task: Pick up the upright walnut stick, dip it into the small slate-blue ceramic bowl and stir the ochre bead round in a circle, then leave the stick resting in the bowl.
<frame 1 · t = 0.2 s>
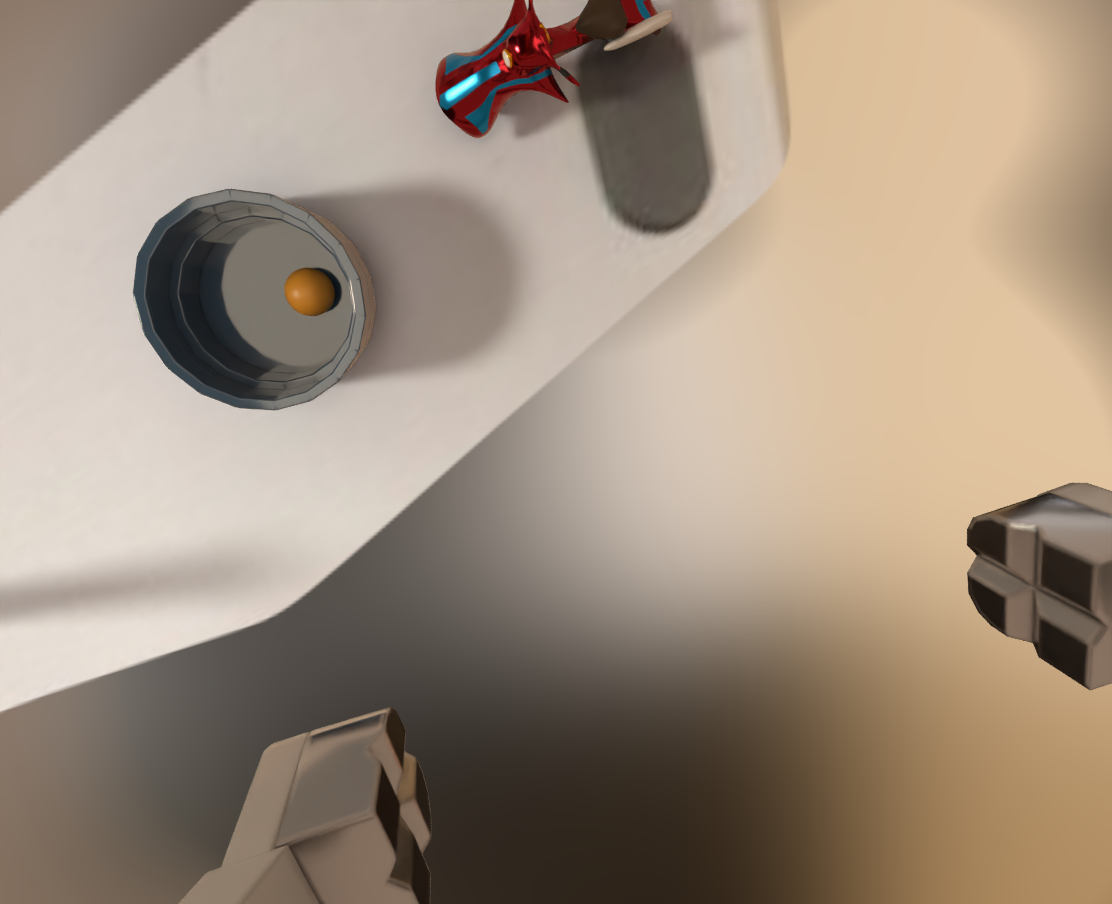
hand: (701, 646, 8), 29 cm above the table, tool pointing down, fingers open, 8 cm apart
hoverbike: (541, 66, 31), on the table
bowl: (283, 299, 32), on the table
bead a: (310, 292, 31), point 2 cm above the table, touching bowl
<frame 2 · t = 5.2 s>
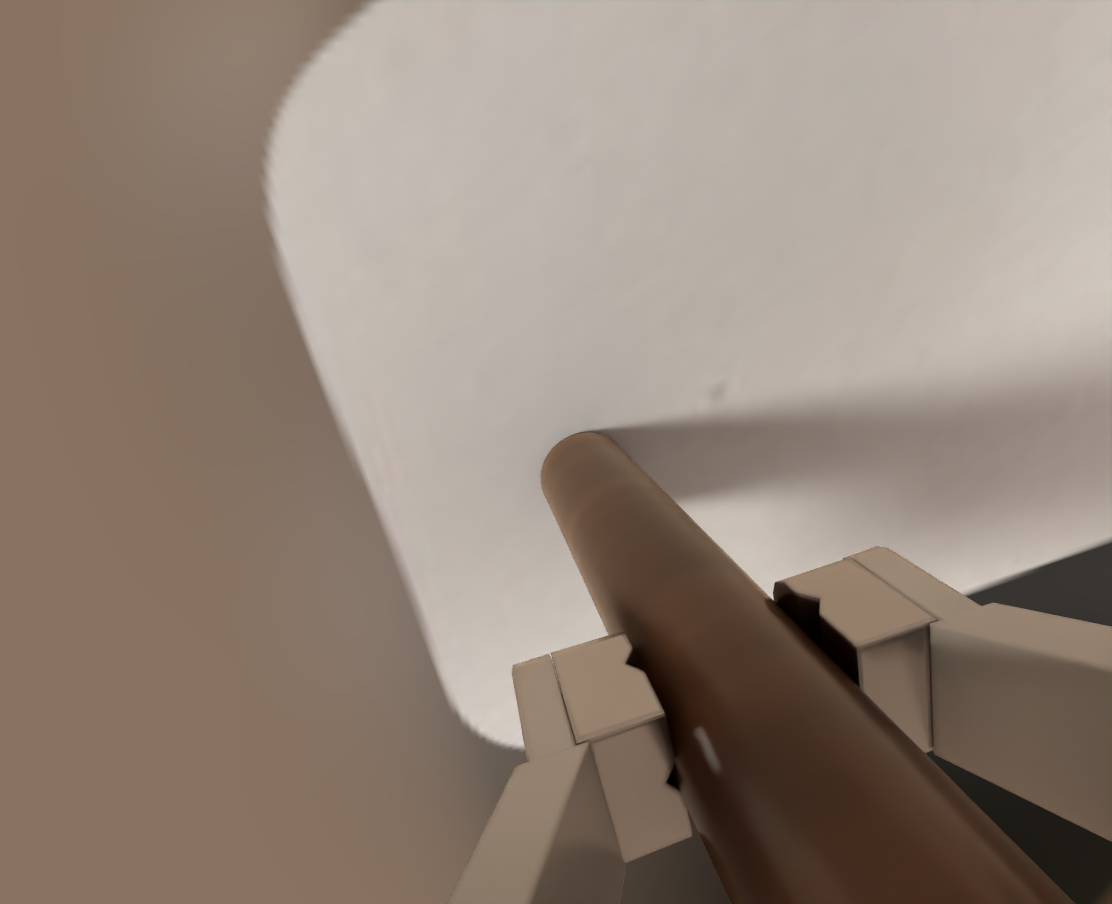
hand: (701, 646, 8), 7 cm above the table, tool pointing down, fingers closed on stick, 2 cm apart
stick: (584, 474, 15), on the table, touching gripper
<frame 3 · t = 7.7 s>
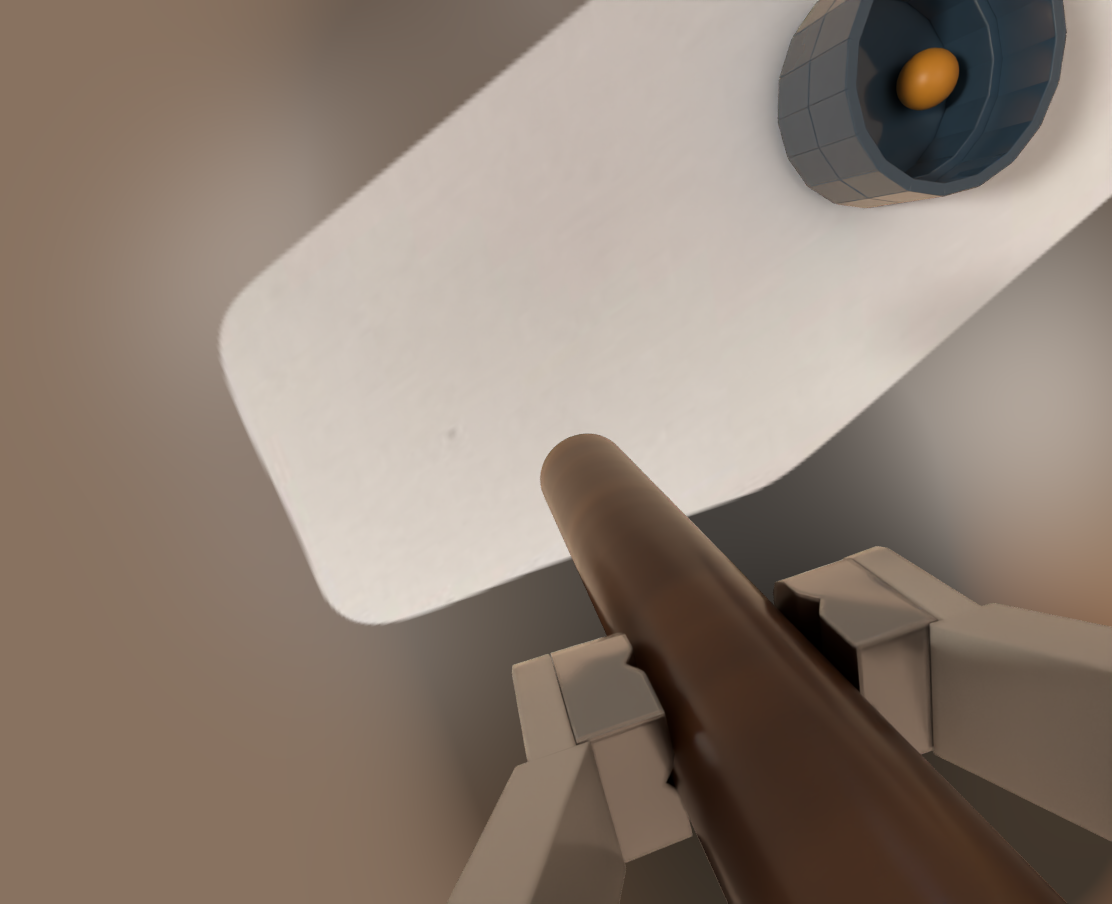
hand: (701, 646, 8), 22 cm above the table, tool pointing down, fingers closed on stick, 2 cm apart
stick: (584, 476, 15), point 15 cm above the table, touching gripper
bowl: (864, 99, 29), on the table
bead a: (927, 79, 27), point 2 cm above the table, touching bowl
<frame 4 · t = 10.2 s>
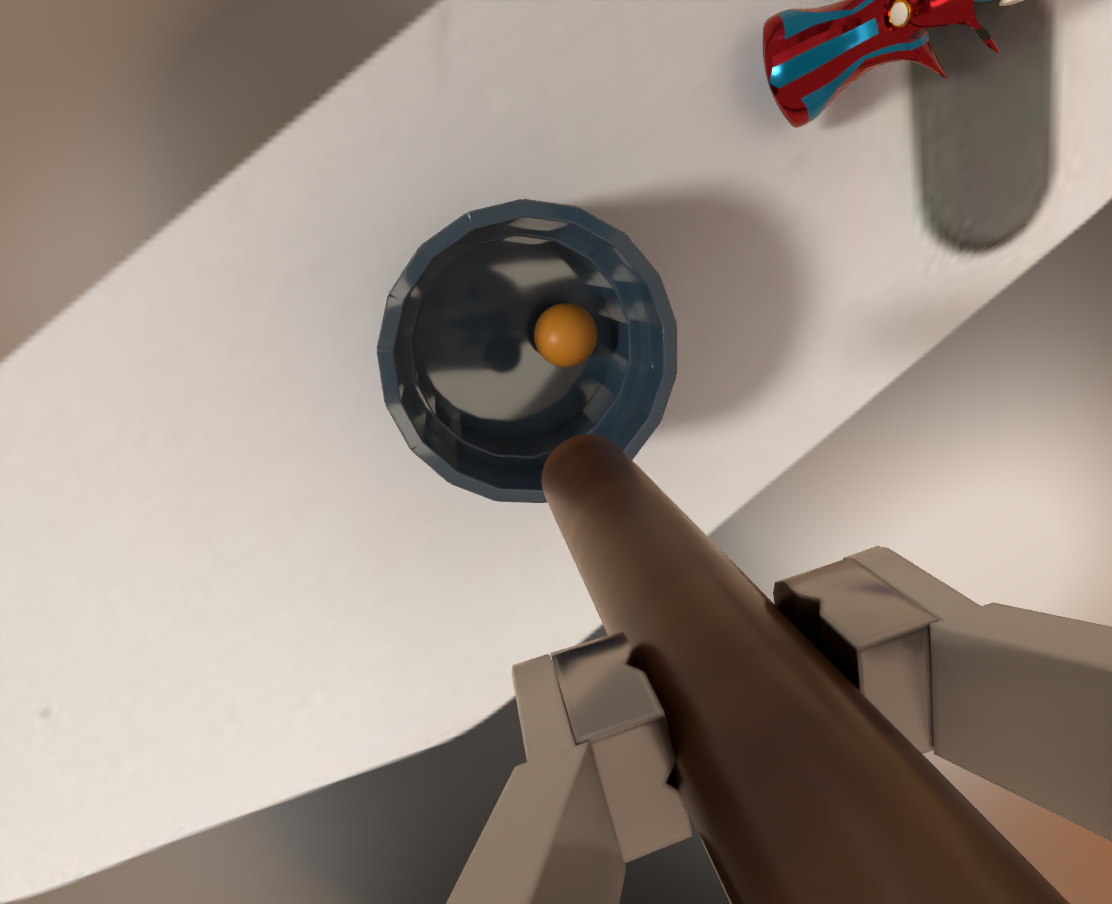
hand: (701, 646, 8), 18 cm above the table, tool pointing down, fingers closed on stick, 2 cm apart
hoverbike: (868, 31, 23), on the table
stick: (585, 476, 15), point 11 cm above the table, touching gripper
bowl: (514, 341, 24), on the table
bead a: (565, 335, 23), point 2 cm above the table, touching bowl
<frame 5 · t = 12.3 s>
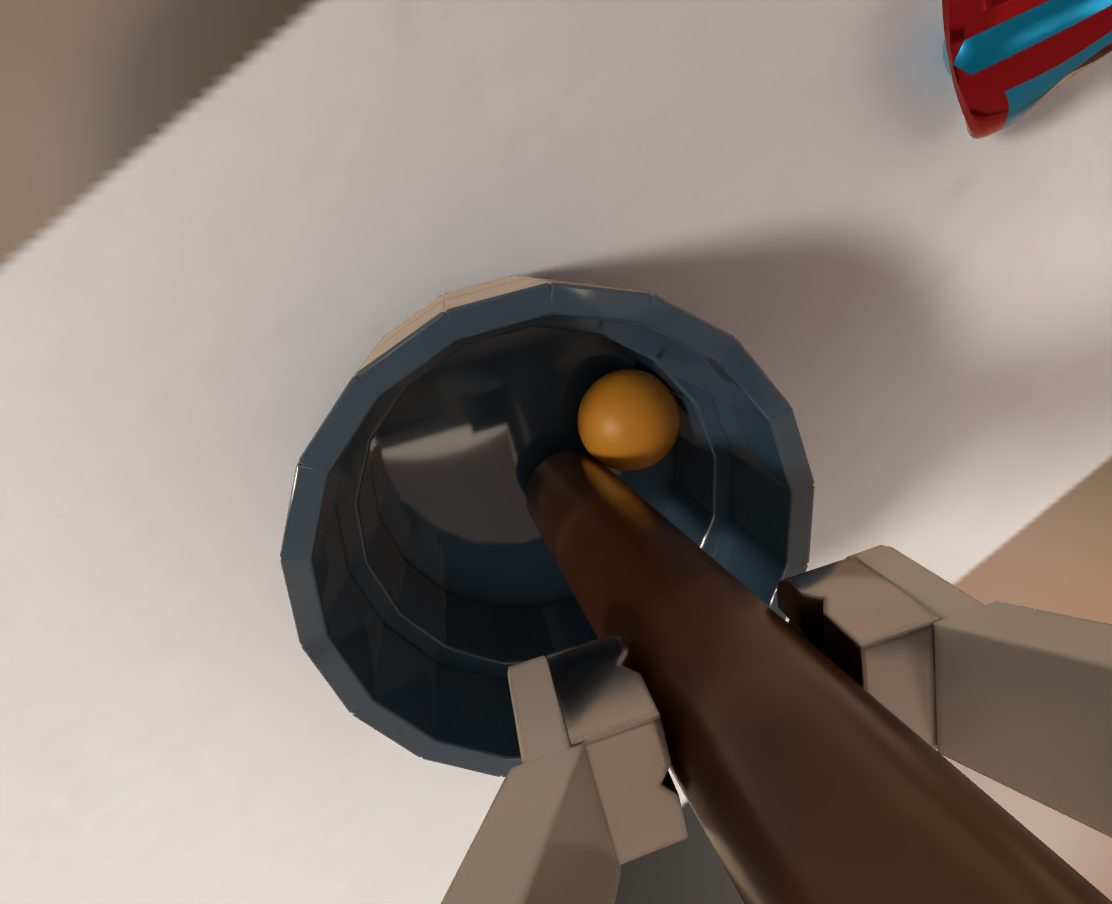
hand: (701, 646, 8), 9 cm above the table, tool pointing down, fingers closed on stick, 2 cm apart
stick: (569, 493, 15), point 1 cm above the table, touching bead a, gripper
bowl: (527, 465, 16), on the table
bead a: (628, 420, 14), point 2 cm above the table, tilted 55°, touching bowl, stick
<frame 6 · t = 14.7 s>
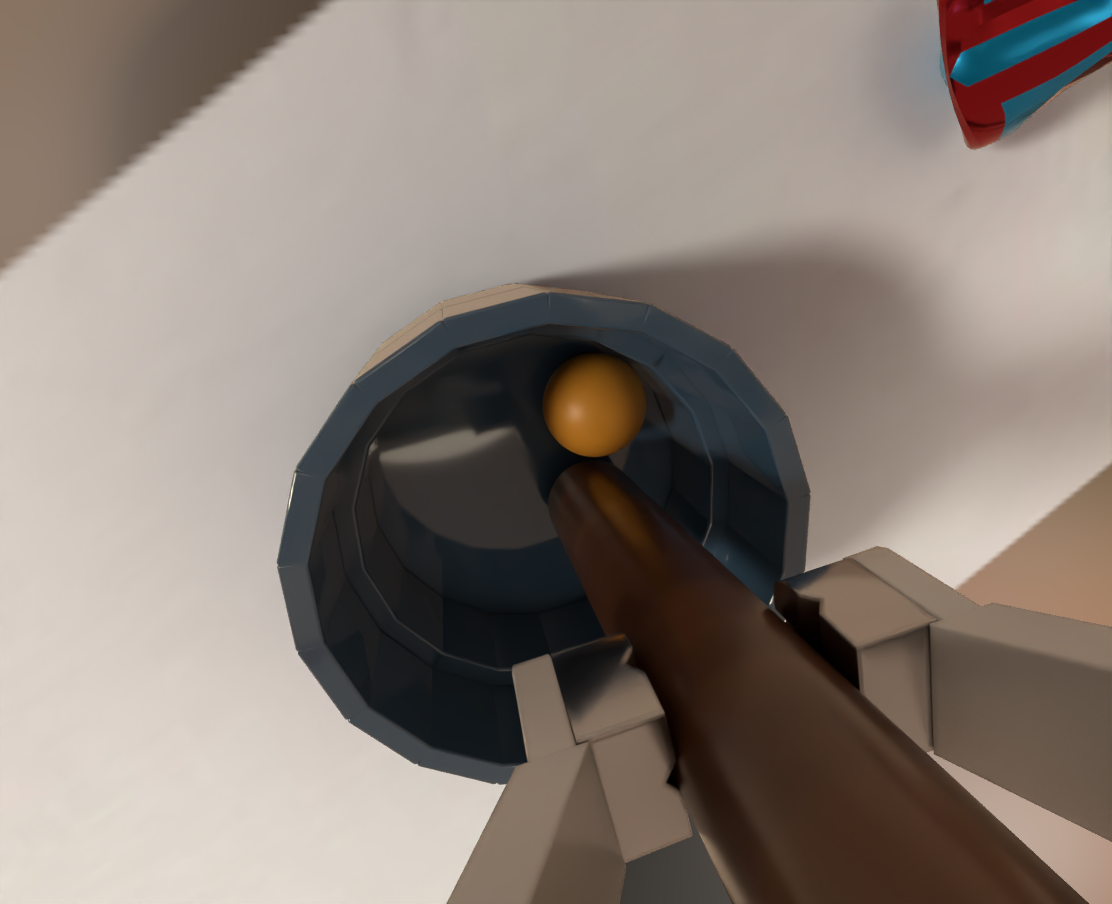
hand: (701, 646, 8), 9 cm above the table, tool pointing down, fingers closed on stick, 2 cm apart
hoverbike: (1072, 0, 15), on the table
stick: (591, 502, 15), point 1 cm above the table, touching gripper
bowl: (524, 471, 16), on the table
bead a: (594, 405, 14), point 2 cm above the table, tilted 51°, touching bowl
when the fingers open (8 cm above the table, at t = 15.6 s): stick stays where it is, resting on bowl.
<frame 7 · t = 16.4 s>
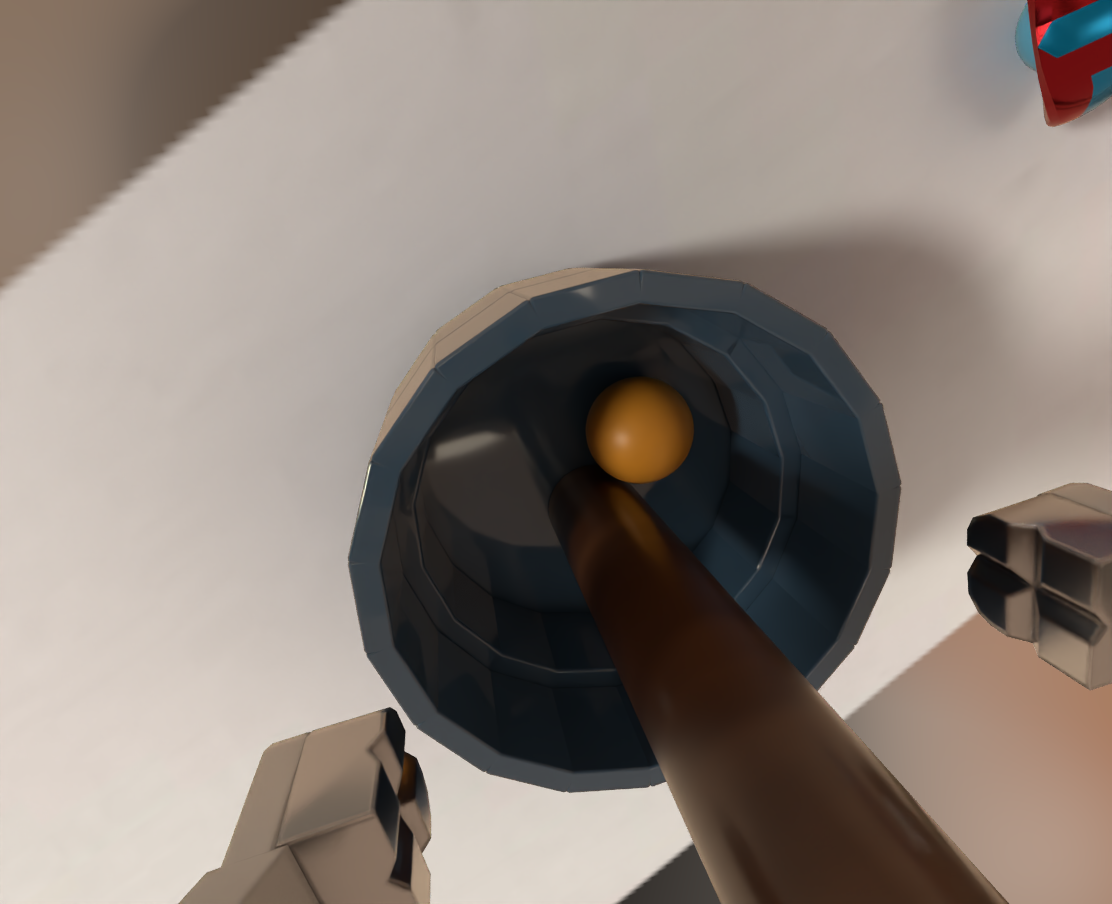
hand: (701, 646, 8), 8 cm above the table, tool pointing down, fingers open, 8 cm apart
stick: (591, 505, 15), point 1 cm above the table, touching bowl
bowl: (577, 465, 15), on the table
bead a: (639, 430, 13), point 2 cm above the table, tilted 9°, touching bowl
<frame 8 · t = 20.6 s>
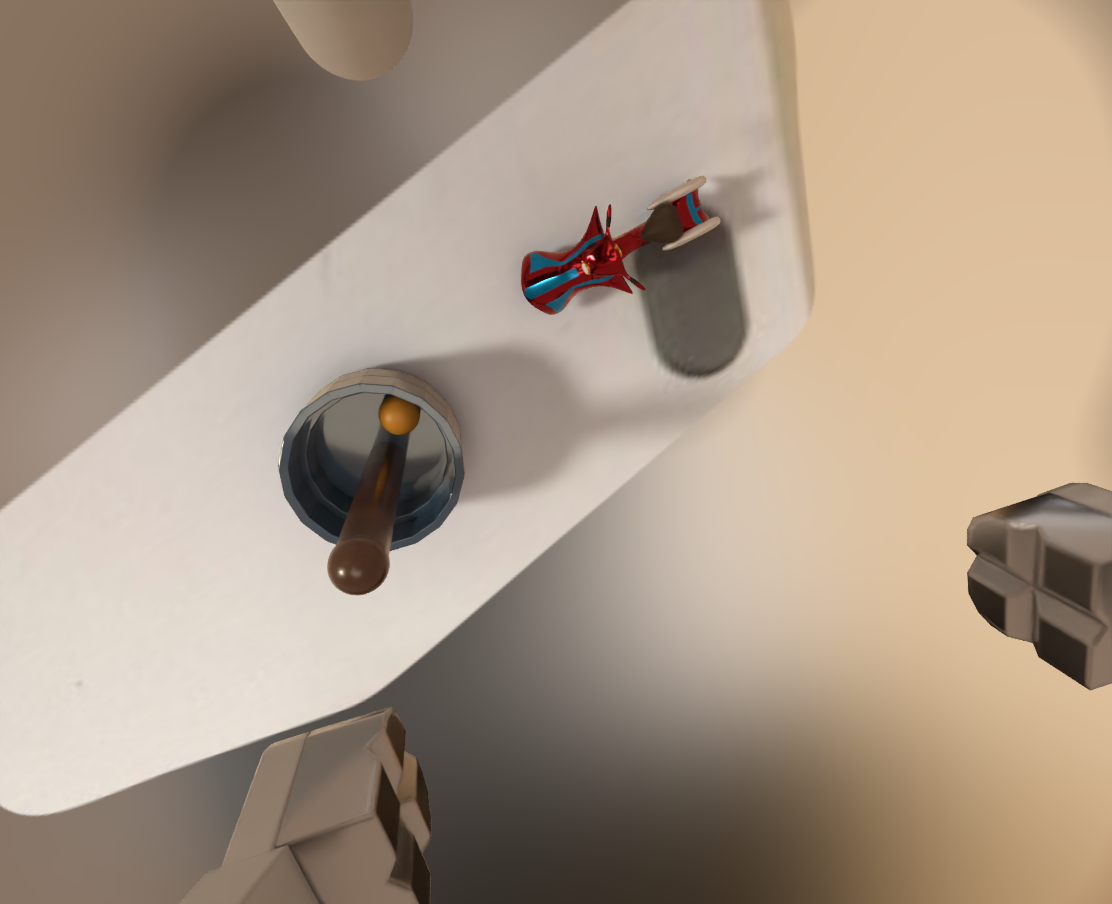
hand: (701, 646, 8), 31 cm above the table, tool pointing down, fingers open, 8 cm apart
hoverbike: (605, 248, 37), on the table
stick: (387, 459, 38), point 1 cm above the table, touching bowl
bowl: (383, 443, 38), on the table
bead a: (399, 414, 36), point 2 cm above the table, tilted 51°, touching bowl
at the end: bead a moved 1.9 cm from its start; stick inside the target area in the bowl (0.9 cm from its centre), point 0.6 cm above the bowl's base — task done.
